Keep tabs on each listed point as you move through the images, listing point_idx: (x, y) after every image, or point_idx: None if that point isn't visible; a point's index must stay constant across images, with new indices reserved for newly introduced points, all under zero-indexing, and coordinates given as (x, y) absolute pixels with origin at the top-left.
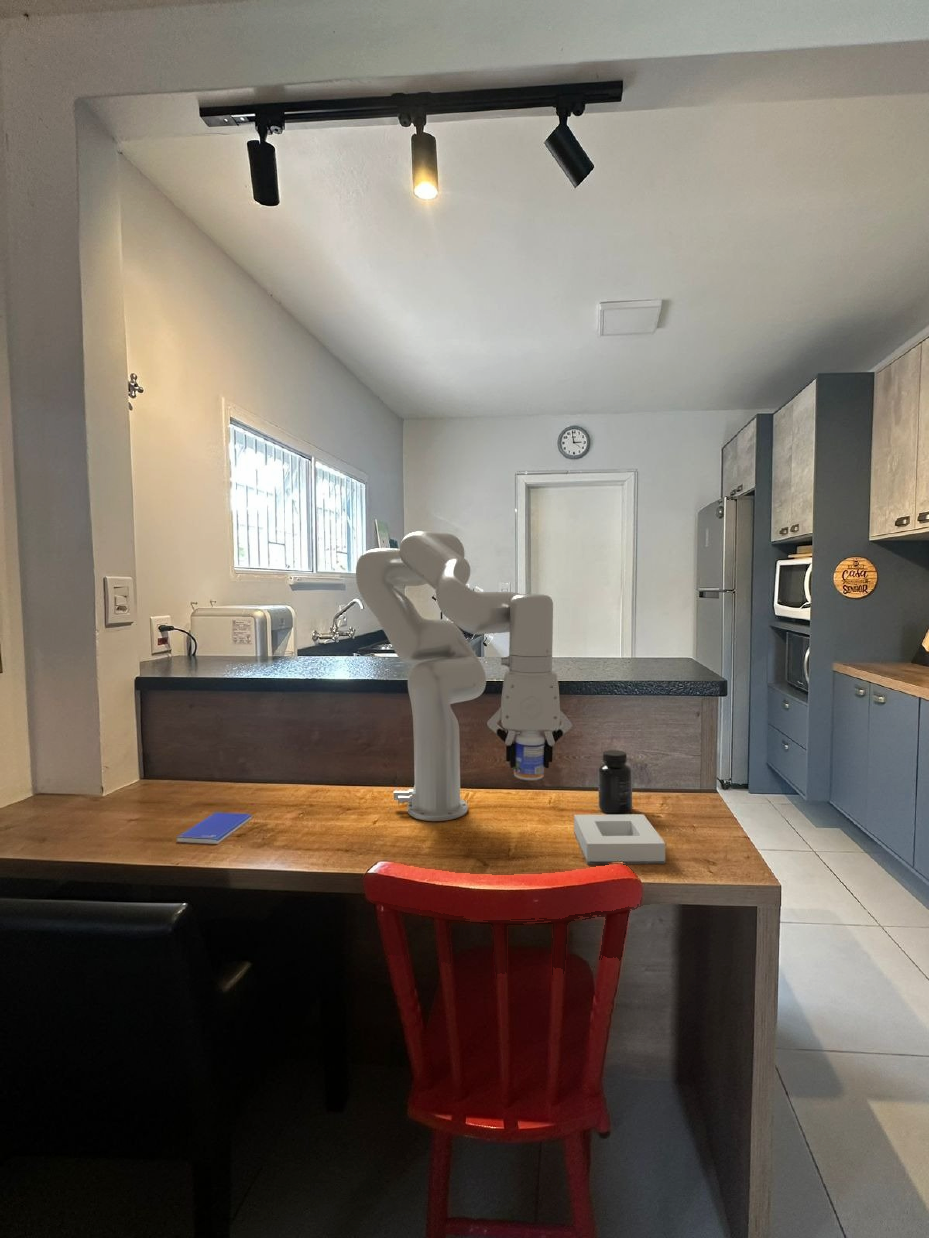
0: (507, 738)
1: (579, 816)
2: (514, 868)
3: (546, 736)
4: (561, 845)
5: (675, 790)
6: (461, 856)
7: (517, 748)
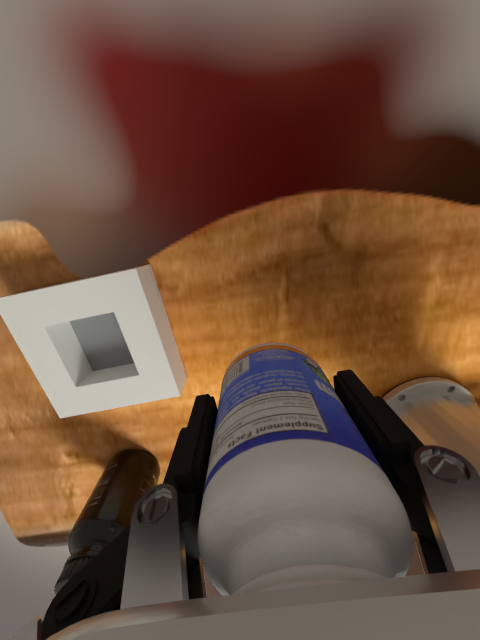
0: (476, 490)
1: (169, 390)
2: (271, 222)
3: (175, 550)
4: (201, 328)
5: (61, 538)
6: (369, 252)
7: (358, 435)
